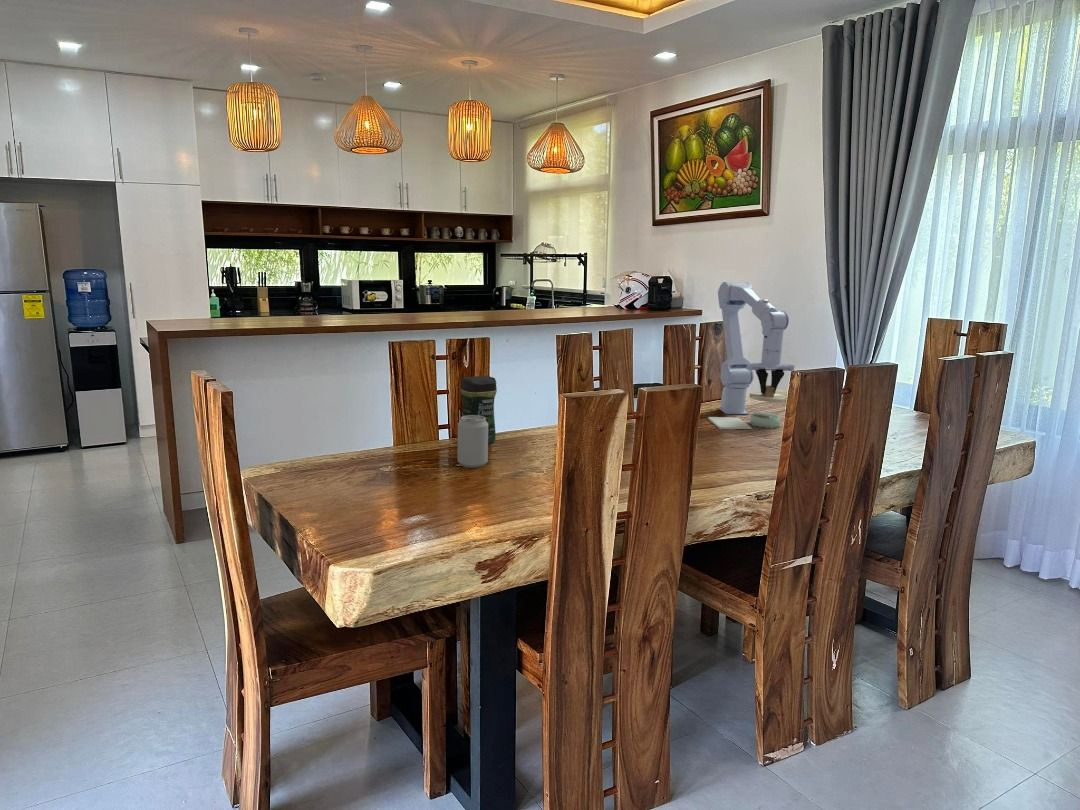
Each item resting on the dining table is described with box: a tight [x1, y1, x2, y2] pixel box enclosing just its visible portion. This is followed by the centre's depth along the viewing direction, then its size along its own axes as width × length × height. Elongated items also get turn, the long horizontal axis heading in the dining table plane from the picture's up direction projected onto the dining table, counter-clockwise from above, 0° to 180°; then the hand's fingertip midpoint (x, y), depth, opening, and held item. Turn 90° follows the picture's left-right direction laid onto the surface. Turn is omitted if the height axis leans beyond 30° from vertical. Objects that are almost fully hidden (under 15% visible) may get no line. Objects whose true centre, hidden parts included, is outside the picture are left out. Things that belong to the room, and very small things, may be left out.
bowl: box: [749, 412, 781, 428], centre depth 233 cm, size 9×9×3 cm
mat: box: [707, 416, 753, 430], centre depth 232 cm, size 14×10×1 cm
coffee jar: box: [460, 375, 498, 445], centre depth 200 cm, size 10×8×19 cm
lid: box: [748, 384, 787, 403], centre depth 231 cm, size 11×11×4 cm
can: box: [457, 415, 489, 469], centre depth 181 cm, size 8×8×12 cm
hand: (767, 393), depth 231 cm, fingers closed on lid, 2 cm apart
